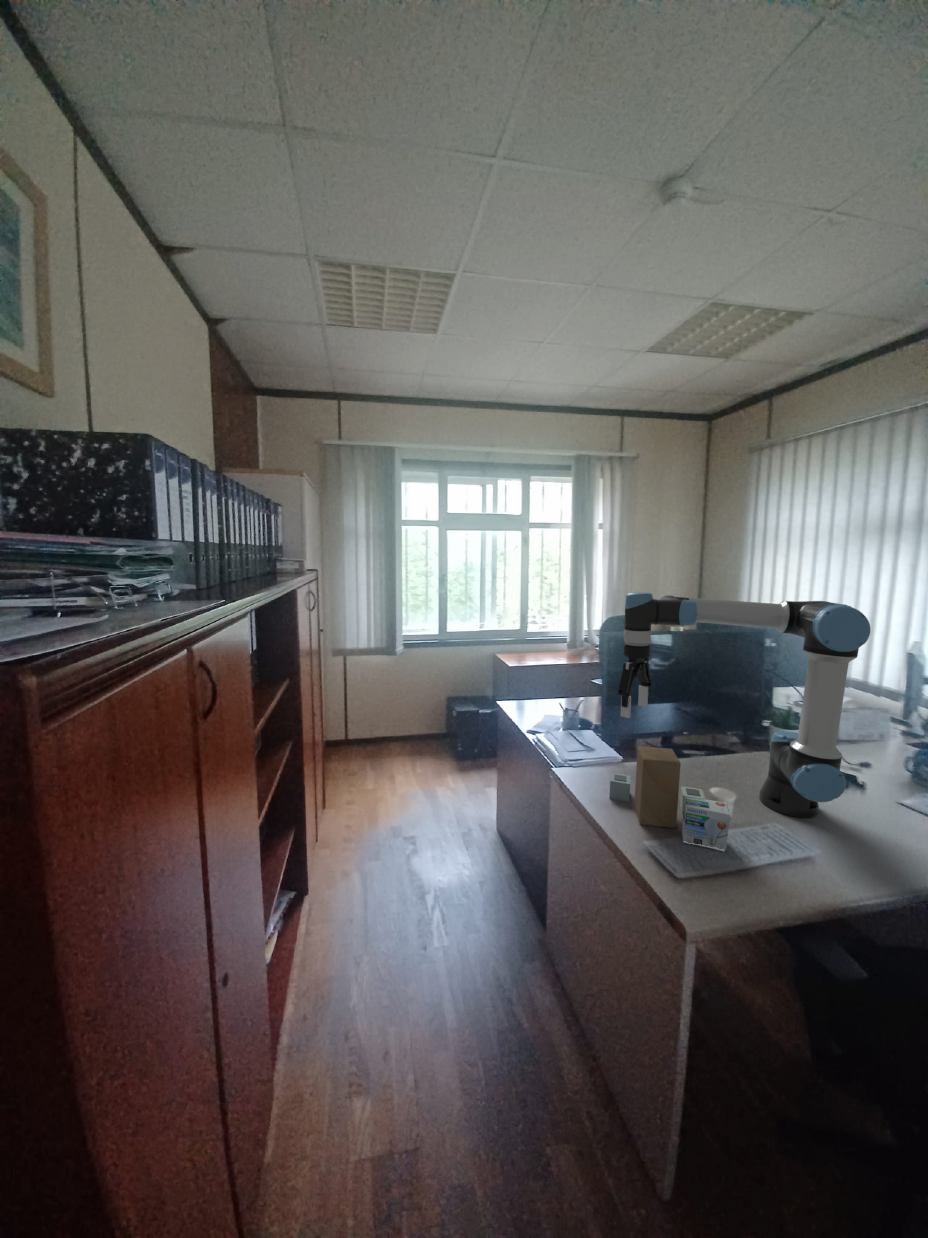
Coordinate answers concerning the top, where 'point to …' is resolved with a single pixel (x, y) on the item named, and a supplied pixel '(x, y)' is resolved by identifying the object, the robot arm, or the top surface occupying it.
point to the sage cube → (692, 793)
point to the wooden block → (657, 786)
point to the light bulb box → (705, 822)
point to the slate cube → (619, 787)
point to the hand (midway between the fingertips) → (634, 711)
